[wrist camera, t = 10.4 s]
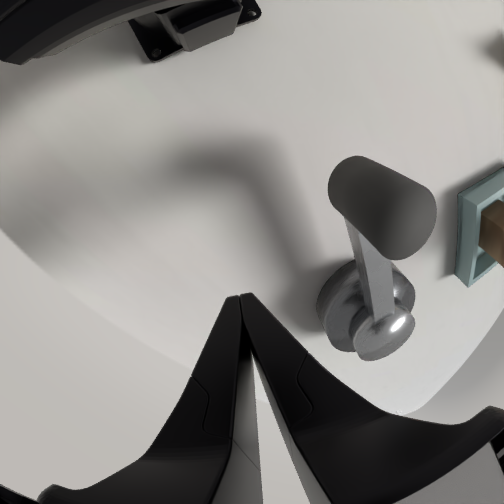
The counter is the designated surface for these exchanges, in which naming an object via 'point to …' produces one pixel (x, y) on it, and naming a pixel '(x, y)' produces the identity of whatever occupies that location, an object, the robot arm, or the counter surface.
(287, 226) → the counter surface
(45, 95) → the counter surface
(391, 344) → the crank
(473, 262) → the tray
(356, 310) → the crank base
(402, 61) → the counter surface
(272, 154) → the counter surface
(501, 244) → the block
